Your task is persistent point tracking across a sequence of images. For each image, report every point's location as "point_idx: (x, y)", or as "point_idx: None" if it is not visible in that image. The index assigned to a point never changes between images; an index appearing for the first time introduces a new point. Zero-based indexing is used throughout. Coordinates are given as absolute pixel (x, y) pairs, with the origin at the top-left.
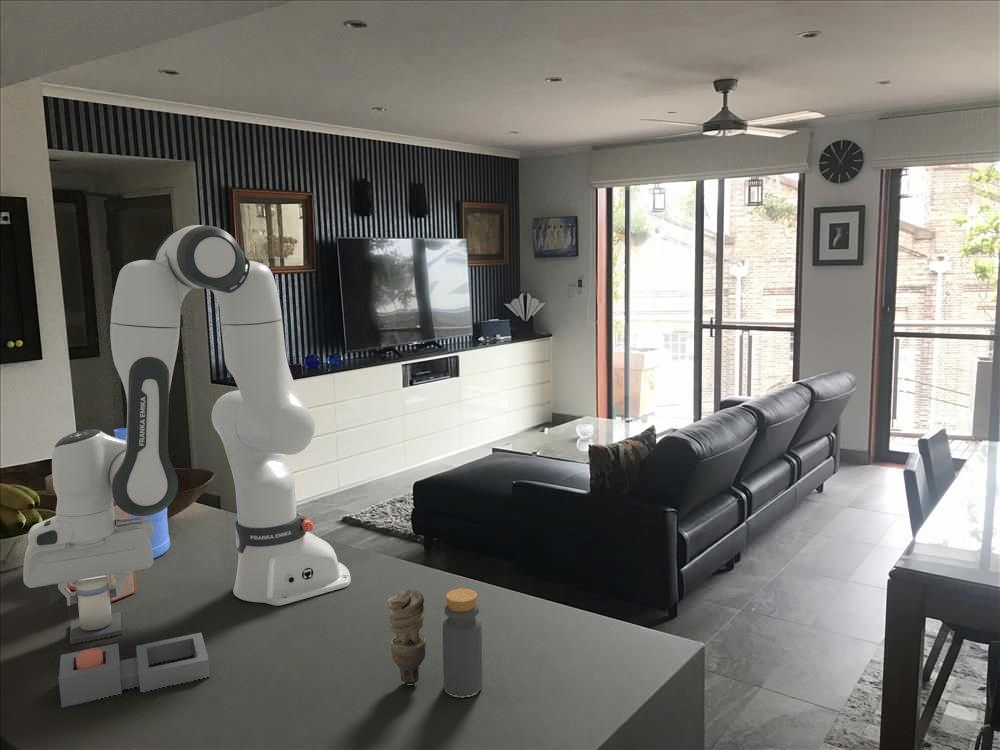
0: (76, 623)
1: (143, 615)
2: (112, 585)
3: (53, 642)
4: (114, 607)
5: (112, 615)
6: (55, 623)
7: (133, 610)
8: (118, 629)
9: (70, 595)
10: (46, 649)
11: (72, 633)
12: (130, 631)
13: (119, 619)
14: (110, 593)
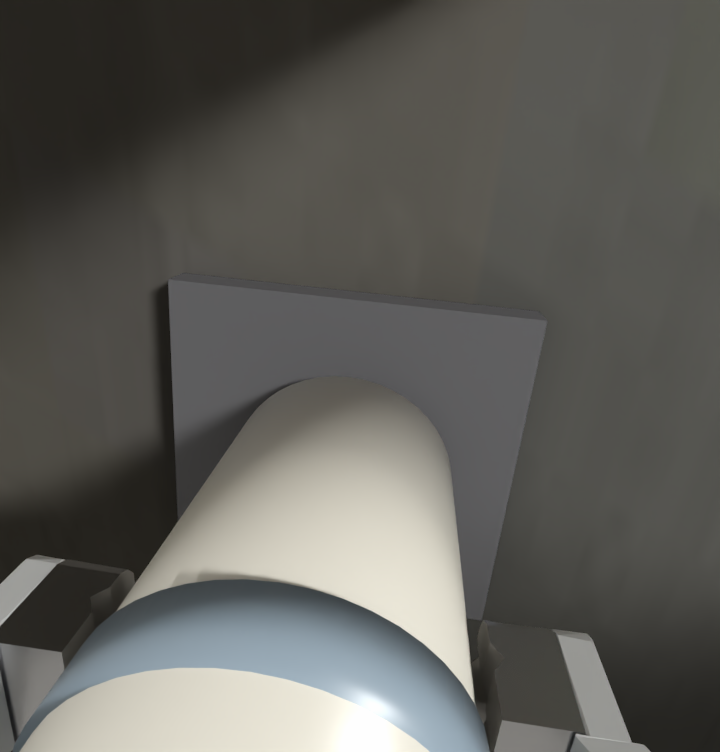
0: (209, 348)
1: (691, 395)
2: (539, 742)
3: (96, 472)
4: (536, 68)
5: (475, 354)
6: (62, 153)
7: (660, 248)
8: (466, 599)
9: (8, 750)
10: (71, 536)
11: (191, 494)
12: (534, 584)
13: (506, 457)
14: (480, 706)
